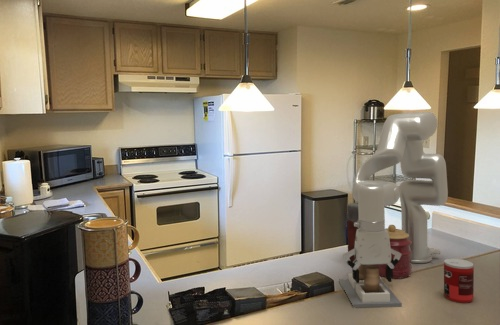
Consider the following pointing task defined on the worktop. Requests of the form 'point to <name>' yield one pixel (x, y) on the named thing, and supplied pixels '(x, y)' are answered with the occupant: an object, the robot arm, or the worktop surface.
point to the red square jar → (352, 226)
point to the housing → (368, 294)
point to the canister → (401, 245)
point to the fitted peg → (361, 272)
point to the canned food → (458, 280)
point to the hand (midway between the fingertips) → (372, 280)
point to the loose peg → (371, 279)
